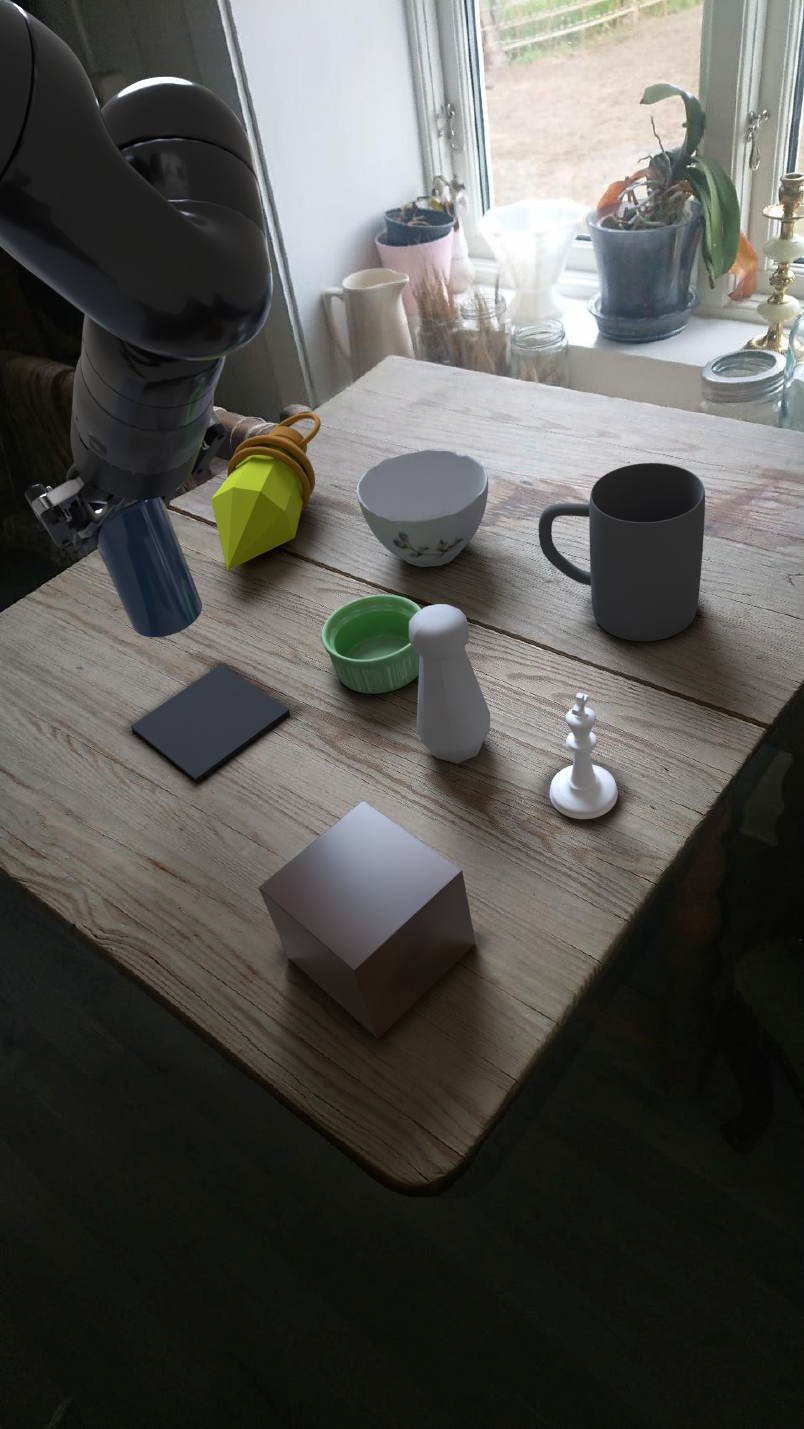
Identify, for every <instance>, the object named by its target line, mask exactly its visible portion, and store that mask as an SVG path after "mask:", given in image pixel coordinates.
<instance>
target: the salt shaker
mask: <svg viewBox="0 0 804 1429" xmlns="http://www.w3.org/2000/svg"><path fill="white" fill-rule="evenodd" d="M409 640H410V644H411V645H412V647H413V648H414V650H415V651H416V653H417V654H418V655H420V656H419V674H418V683H417V684H418V686H417V688H418V689H417V692H418V693H417V717H416V733H417V735H418V737H419V738H420V740H421V741H422V743H423V744H424V746H425V747H426V748H427V749H428V751H430V752H431V754H432V755H433V756H434V757H435V758H436V759H438V760H443V761H446V762H450V763H452V764H453V763H454V764H461V763H462V762H464V761H466V760H469V759H472V758H473V757H476V756H478V755H479V753H480V750H481V749H482V746H483V744H484V742H485V739H486V738H487V736H488V734H489V732H490V731H491V712H490V709H489V707H488V704H487V702H486V699H485V696H484V693H483V690H482V688H481V687H480V683H479V681H478V678H477V676H476V673H475V671H474V668H473V665H472V663H471V660H470V658H469V655H468V653H467V649H466V645H467V643H468V641H469V622H468V620H467V616H466V615H465V614H464V612H462V610H461V609H460V608H457V607H455V606H452V605H451V604H450V605H449V604H444V603H443V604H442V603H441V604H440V603H436V604H431V605H427V606H425V607H423V608H421V610H420V611H418V612H417V613H416V614H415V615H414V616H413V617H412V619H411V620H410V621H409Z"/></svg>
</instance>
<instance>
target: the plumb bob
mask: <svg viewBox="0 0 804 1429" xmlns="http://www.w3.org/2000/svg"><path fill="white" fill-rule="evenodd" d="M305 419H307V420H308V419H309V420H313V421H314V426H313V428H312V430H310V432H309V433H308V434H307V435H306V436H305V437H304V436H303V435H302V434H301V432H299V431H297V429H295V428H292V427H290V426H289V425H291V424H293V423H295V422H298V421H301V420H305ZM321 426H322V422H321V418H320V417H319V416H318V415H317V414H316V413H313V412H303V413H298V414H295V415H293V416H290V417H287V418H286V419H285V420H283V421H281V422H280V423H278V424H277V425H276V426H275V427H274V428H272V429H271V430H270V431H269V433H268V434H260V435H256V436H252V437H249V438H247V439H245V440H243V441H242V442H241V443H239V445H238V446H237V447H236V449H235V451H234V454H233V456H232V457H231V459H230V461H229V462H228V466H227V474H226V475H227V478H226V479H225V480H224V482H223V483H222V485H221V486H220V487H219V488H218V489H217V491H216V492H215V493H214V495H213V496H212V497H211V499H210V501H211V504H212V505H211V506H212V509H213V514H214V519H215V524H216V527H217V532H218V536H219V541H220V545H221V550H222V555H223V558H224V562H225V567H226V571H229V570H231V569H233V568H236V567H237V566H239V565H242V564H243V563H247V562H248V561H250V560H252V559H254V558H256V557H258V556H260V555H262V554H264V553H266V552H268V551H271V550H272V549H274V548H276V547H279V546H280V545H283V544H285V543H287V542H289V541H292V540H293V539H296V534H297V530H298V526H299V522H300V518H301V513H302V511H303V510H304V509H305V508H306V506H307V505H308V504H309V501H310V497H311V495H312V493H313V492H314V489H315V487H316V474H315V470H314V467H313V465H312V463H311V461H310V458H309V457H308V455H307V451H308V444H309V443H310V442H311V441H312V440H313V439H314V438H315V437H316V436H317V434H318V433H319V431H320V428H321Z"/></svg>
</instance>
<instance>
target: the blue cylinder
mask: <svg viewBox="0 0 804 1429" xmlns="http://www.w3.org/2000/svg"><path fill="white" fill-rule="evenodd" d="M97 529H98V533H97V539H96V546H95V547H96V548H97V550H98V552H99V555H100V557H101V559H102V561H103V563H104V566H105V568H106V570H107V573H108V575H109V577H110V580H111V582H112V584H113V586H114V589H115V590H116V594H117V595H118V598H119V600H120V602H121V604H122V606H123V608H124V611H125V613H126V615H127V617H128V620H129V622H130V624H131V627H132V629H133V631H135V632H136V633H137V634H139V635H140V636H142V637H146V638H164V637H168V636H172V635H176V634H177V633H180V632H182V631H184V630H186V629H187V628H189V627H190V626H191V625H192V624H194V623H195V622H196V621H197V620H198V618H199V617H200V615H201V613H202V610H203V603H202V600H201V596H200V595H199V591H198V589H197V586H196V584H195V580H194V578H193V575H192V573H191V570H190V567H189V564H188V562H187V559H186V557H185V554H184V552H183V548H182V546H181V543H180V541H179V538H178V536H177V533H176V530H175V527H174V525H173V522H172V520H171V517H170V513H169V511H168V507H167V508H166V506H165V503H164V500H163V498H162V497H159V498H156V499H151V500H134V501H133V502H130V503H127V504H126V505H125V506H124V507H123V508H122V510H121V511H120V512H119V513H118V515H117V516H116V517H115V518H114V520H112V521H110V522H107V523H104V524H101V525H100V526H99V527H98V528H97Z"/></svg>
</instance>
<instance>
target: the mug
mask: <svg viewBox="0 0 804 1429" xmlns="http://www.w3.org/2000/svg"><path fill="white" fill-rule="evenodd" d="M563 516H564V517H582V518H583V517H584V518H588V519H589V520H588V522H589V526H588V528H589V529H588V530H589V532H588V535H589V569H590V570H589V571H586V570H583V569H581V568H580V567H578V566H576V565H575V564H573V563H572V562H571V561H569V560H568V559H567V558H566V557H565V556H564V555H563V554H562V553H561V552H560V551H559V550H558V549H557V548H556V546H555V544H554V541H553V524H554V523H553V522H554V520H555V519H556V518H557V517H563ZM705 517H706V490H705V486H704V484H703V482H702V480H701V479H700V478H699V476H697V474H694V473H693V472H691V471H690V470H688V469H687V468H683V467H681V466H678V465H673V464H669V463H662V462H643V463H641V462H640V463H634V464H629V465H624V466H621V467H618V468H616V469H614V470H611V471H609V472H607V473H606V474H604V475H602V476H601V477H600V478H599V479H597V481H596V482H595V483H594V484H593V486H592V488H591V491H590V495H589V503H579V502H578V503H577V502H576V503H575V502H573V503H572V502H567V503H566V502H565V503H564V502H563V503H555V504H551V505H549V506H547V507H546V508H545V509H544V510H543V511H542V513H541V515H540V517H539V520H538V540H539V547H540V550H541V551H542V554H543V555H544V557H545V558H546V559H547V561H549V563H550V564H551V565H552V566H554V568H556V569H557V570H558V571H559V572H561V573H562V574H563V575H565V576H566V577H567V578H569V579H571V580H573V581H575V582H576V583H579V584H581V585H586V586H590V594H591V607H592V612H593V617H594V619H595V620H596V622H597V624H598V625H599V626H600V627H601V628H602V629H603V630H604V631H606V632H607V633H608V634H610V635H612V636H614V637H617V638H620V639H622V640H627V641H633V642H654V641H656V642H657V641H661V640H665V639H668V638H671V637H674V636H676V635H678V634H679V633H681V632H683V631H684V630H685V629H687V627H689V625H691V623H692V622H693V620H694V619H695V617H696V614H697V610H698V605H699V597H700V588H701V576H702V565H703V564H702V563H703V552H704V551H703V550H704V539H705V538H704V536H705V535H704V534H705Z"/></svg>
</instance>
